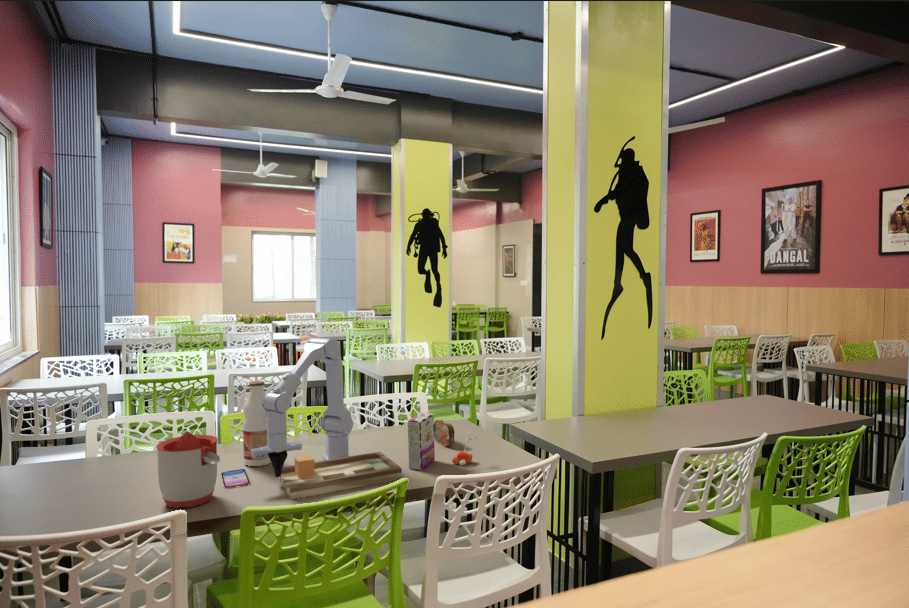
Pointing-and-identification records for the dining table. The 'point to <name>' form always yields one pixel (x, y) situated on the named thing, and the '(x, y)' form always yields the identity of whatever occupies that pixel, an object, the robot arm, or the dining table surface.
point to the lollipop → (463, 454)
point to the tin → (443, 433)
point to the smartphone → (235, 478)
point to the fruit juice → (255, 425)
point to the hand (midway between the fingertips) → (277, 476)
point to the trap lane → (340, 475)
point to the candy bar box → (421, 441)
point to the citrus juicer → (187, 469)
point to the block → (304, 466)
